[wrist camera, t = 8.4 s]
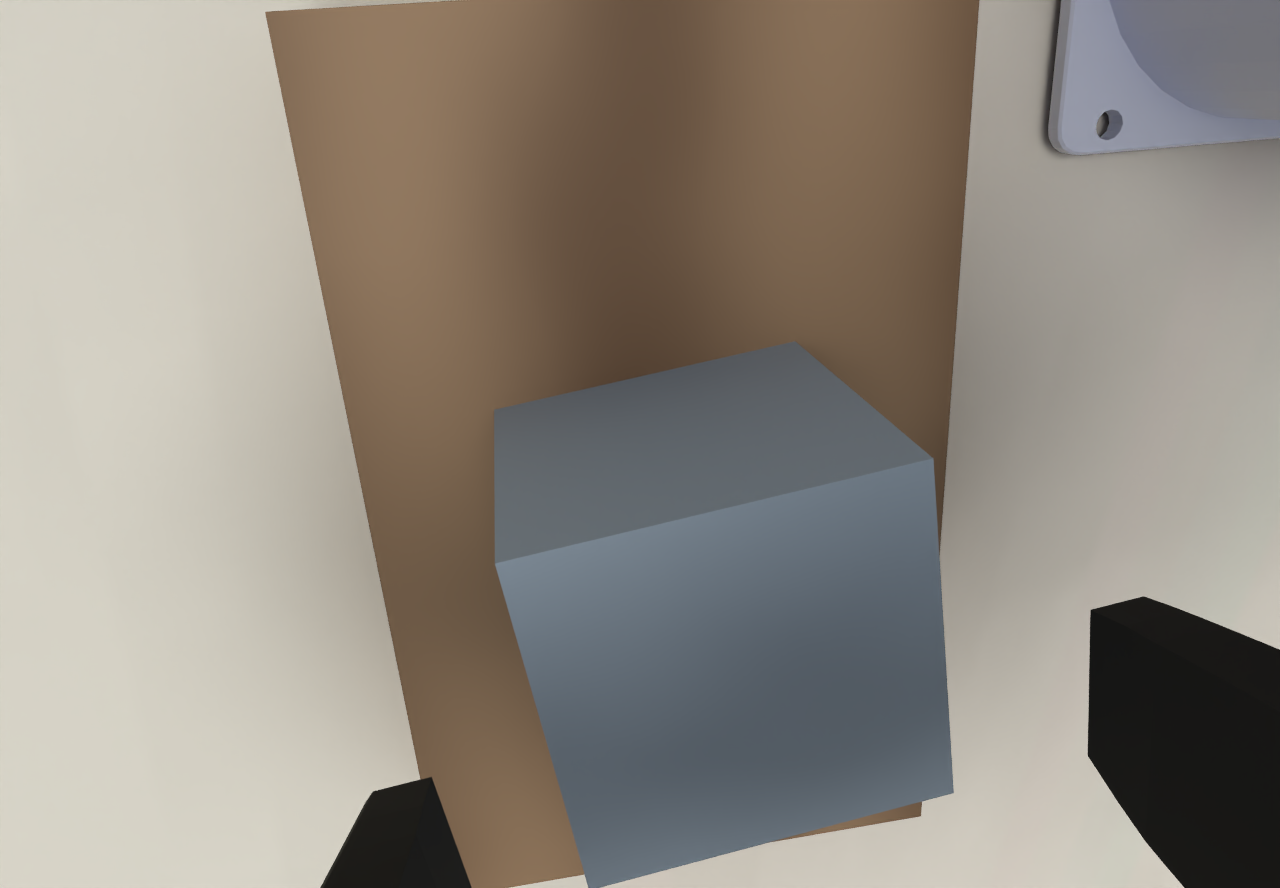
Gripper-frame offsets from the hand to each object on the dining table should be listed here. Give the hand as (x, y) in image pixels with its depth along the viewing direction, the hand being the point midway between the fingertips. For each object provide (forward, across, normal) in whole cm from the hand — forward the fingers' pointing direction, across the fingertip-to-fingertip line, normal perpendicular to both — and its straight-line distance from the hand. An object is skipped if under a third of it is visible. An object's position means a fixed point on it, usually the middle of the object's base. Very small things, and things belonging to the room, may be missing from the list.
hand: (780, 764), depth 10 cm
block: (+6, 0, 0) cm, 6 cm away
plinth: (+9, 0, 0) cm, 9 cm away
